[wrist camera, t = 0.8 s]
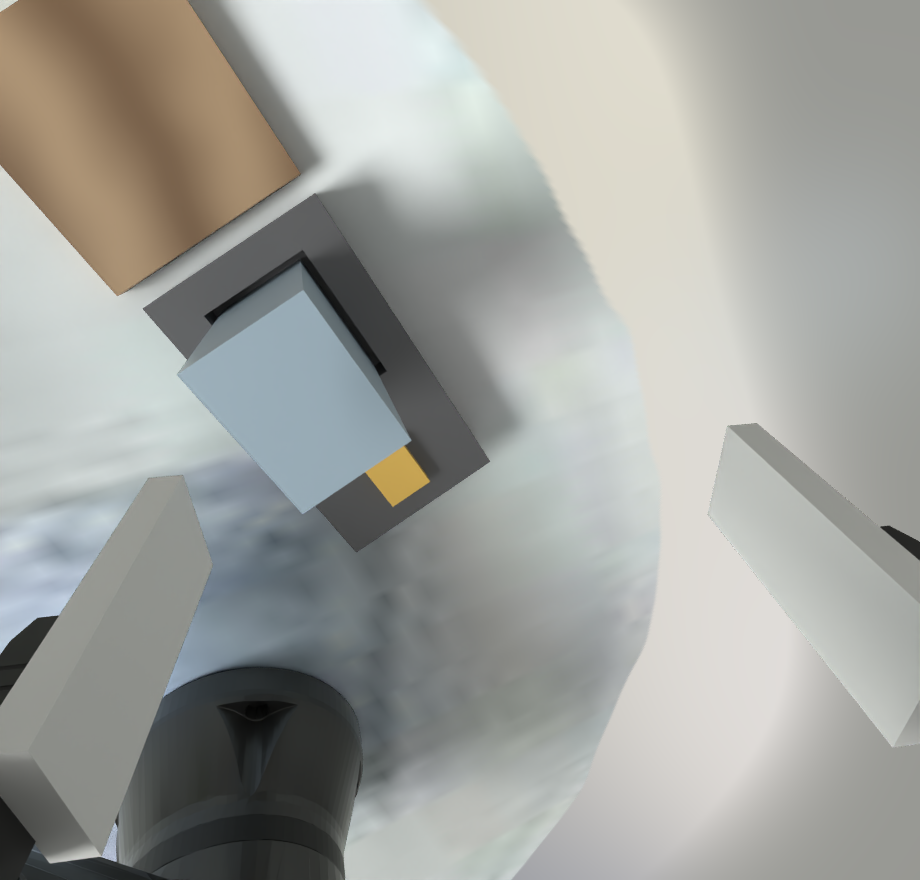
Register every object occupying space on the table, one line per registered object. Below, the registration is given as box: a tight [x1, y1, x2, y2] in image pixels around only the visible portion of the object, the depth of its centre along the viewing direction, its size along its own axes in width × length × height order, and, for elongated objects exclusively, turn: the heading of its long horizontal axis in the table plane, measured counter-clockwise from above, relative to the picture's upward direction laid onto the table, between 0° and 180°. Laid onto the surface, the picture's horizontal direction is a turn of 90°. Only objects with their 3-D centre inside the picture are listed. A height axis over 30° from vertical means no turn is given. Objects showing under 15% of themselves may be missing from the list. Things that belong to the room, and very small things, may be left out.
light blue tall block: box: [177, 259, 412, 514], centre depth 24 cm, size 4×6×12 cm
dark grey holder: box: [143, 194, 490, 552], centre depth 29 cm, size 9×16×4 cm, turn 31°
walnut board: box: [0, 0, 301, 296], centre depth 24 cm, size 10×10×1 cm
